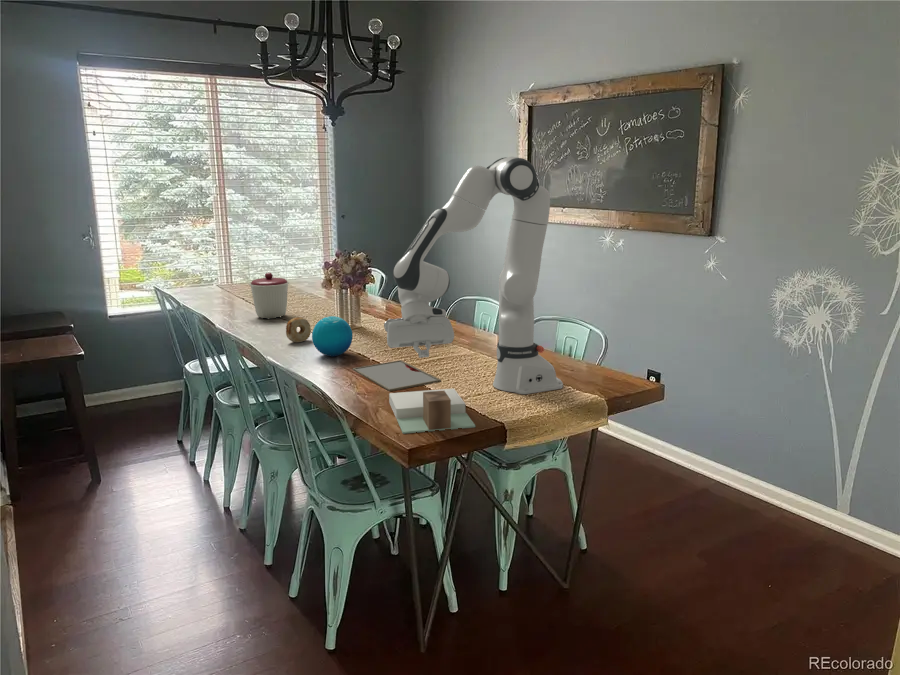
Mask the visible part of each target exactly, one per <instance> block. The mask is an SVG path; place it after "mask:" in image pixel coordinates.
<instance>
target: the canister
mask: <svg viewBox="0 0 900 675" xmlns="http://www.w3.org/2000/svg"><path fill="white" fill-rule="evenodd" d="M288 284H290V281H289V280H287V279H286V278H282V277H274V276H273V273H271V272H266V273H265V274H264V277H262V278H255V279H253V280H252V281H251V282H248V285H249V286H250V289H251V294H252V300H253V306H254V310H255V314H256V316H257V317H258V318H259V317H262V318H261V319H263V318H276V317H280V316H283V315H284V316H285V315H286V314H287V305H288V292H289V291H288V290H289V289H288V288H289V285H288ZM284 316H283V317H284ZM280 318H281V317H280ZM276 319H277V318H276Z"/></svg>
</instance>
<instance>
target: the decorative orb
mask: <svg viewBox="0 0 900 675" xmlns="http://www.w3.org/2000/svg"><path fill="white" fill-rule="evenodd" d="M311 341H312V343H313V345H314V346H313V347H314V348H315V349H316V350H317V351H318V352H319V353H320V354H322V355H324V356H327V357H337V356H340V355H342V354H343V355H344V353H345V352H347V351H348V350H349V348H351V345H352V343H353V330H352V328H351V326H350V324H349V323H348V322H347V321H346V320H345V319H343V318H342V317H338V316H336V315H335V316H332V315H331V316H325V317H323V318H322V319H320V320H318V321H317V323H315V325H314V327H313V329H312V331H311Z"/></svg>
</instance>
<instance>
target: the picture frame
mask: <svg viewBox="0 0 900 675" xmlns="http://www.w3.org/2000/svg"><path fill="white" fill-rule="evenodd" d="M352 371H354V372H356V373H357V374H359V375H361V376H362V377H364V378H366V379H367V380H369V381H371V382H372V383H374V384H376V385H378V386H379V387H381V388H383V389H384V390H386V391H387V392H395V391H400V390H404V389H409V388H413V387H420V386H425V385H429V384H428V383H431V384H434V383H433V382H436V383H439V382H438V381H441V382H442V379H440V378H439V377H436V376H434V375H433V374H430V373H428V372H426V371H424V370H423V369H420V368H418V367H416V366H414V365H412V364H410V363H407V362H405V361H403V360H402V359H399V360H395V361H387V362H382V363H381V362H380V363H375V364H370V365H363V366H358V367H357V366H356V367H353V368H352ZM424 384H425V385H424Z"/></svg>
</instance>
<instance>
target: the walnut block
mask: <svg viewBox="0 0 900 675" xmlns="http://www.w3.org/2000/svg"><path fill="white" fill-rule="evenodd" d="M423 420H424V422H425V423H426V425H427V427H428V429H429V430H433V429H444V428H451V400H450V398H449V397H448V395H447V394H446V392H445V391H431V392H423Z"/></svg>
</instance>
